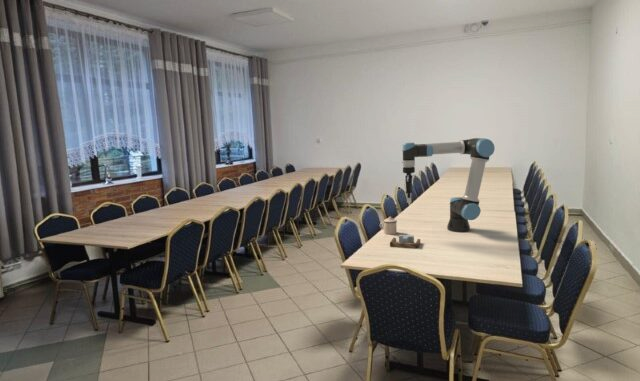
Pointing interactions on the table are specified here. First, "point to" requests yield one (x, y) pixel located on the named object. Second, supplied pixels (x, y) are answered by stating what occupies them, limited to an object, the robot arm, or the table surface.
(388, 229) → the teacup with lid
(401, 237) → the slate t block
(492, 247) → the table surface
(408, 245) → the walnut bay
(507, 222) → the table surface
